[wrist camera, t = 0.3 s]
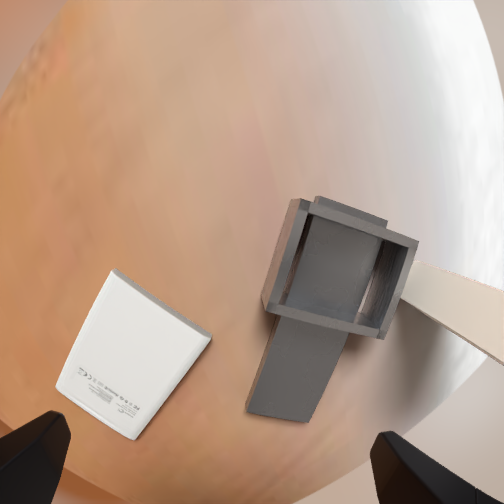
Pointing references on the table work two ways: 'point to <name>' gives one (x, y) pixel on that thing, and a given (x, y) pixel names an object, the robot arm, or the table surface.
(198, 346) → the external hard drive
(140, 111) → the table surface
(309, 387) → the grey tray with tab
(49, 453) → the robot arm
